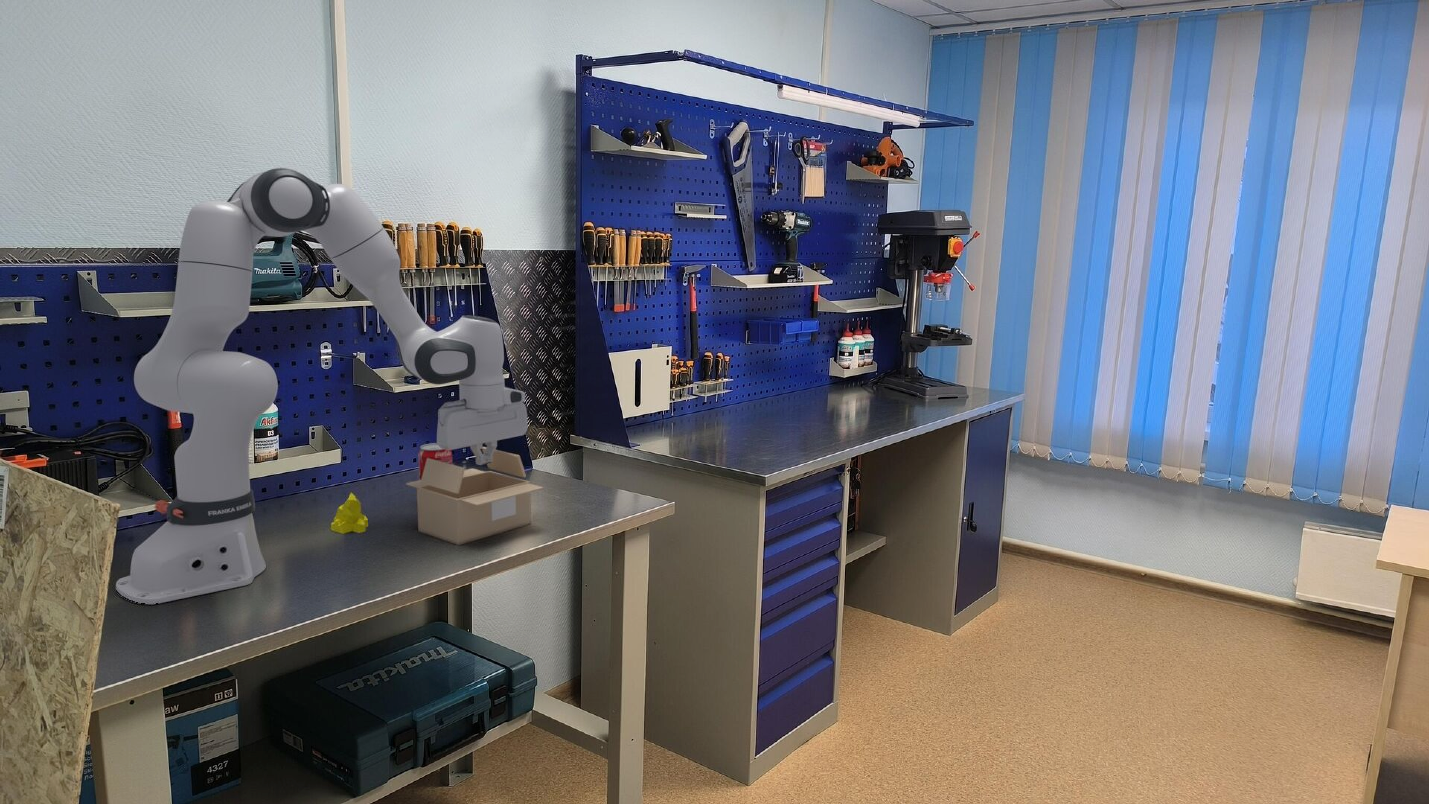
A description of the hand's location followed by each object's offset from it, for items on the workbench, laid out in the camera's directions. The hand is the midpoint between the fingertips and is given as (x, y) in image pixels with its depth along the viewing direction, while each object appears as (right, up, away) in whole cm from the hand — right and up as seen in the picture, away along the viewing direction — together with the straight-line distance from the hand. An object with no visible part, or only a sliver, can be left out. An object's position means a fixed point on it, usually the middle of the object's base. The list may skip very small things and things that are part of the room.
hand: (484, 463), depth 190 cm
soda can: (-14, -10, +16) cm, 24 cm away
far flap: (+3, 0, +4) cm, 5 cm away
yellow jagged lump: (-27, -13, -2) cm, 30 cm away
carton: (-2, -13, 0) cm, 13 cm away
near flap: (-6, -2, -8) cm, 10 cm away
